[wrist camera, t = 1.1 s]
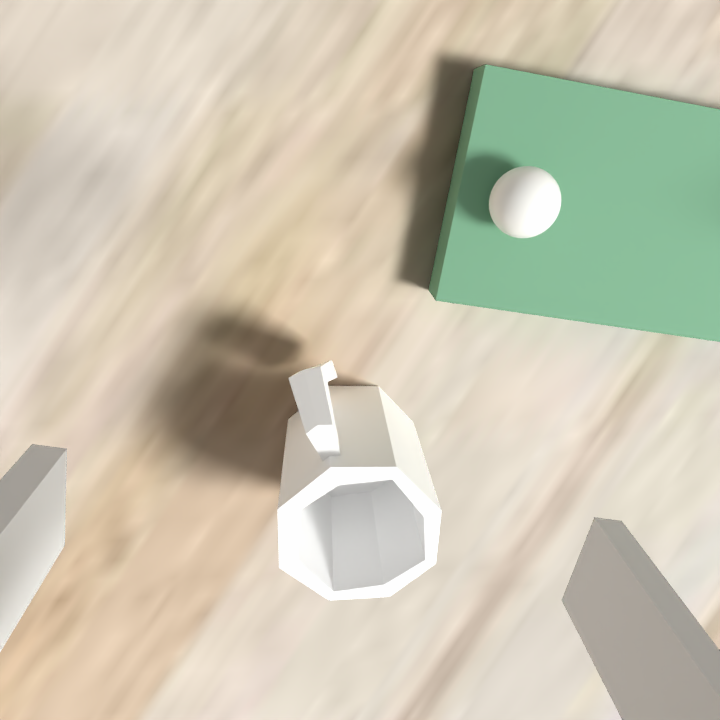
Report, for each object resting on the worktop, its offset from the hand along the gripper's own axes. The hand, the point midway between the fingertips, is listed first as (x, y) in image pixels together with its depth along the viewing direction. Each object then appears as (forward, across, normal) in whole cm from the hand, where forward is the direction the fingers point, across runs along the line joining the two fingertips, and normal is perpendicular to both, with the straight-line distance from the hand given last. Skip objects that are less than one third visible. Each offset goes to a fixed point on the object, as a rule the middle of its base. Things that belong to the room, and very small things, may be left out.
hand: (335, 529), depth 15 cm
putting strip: (+22, +19, +8) cm, 30 cm away
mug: (+22, +2, -8) cm, 24 cm away
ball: (+18, +9, +8) cm, 21 cm away
